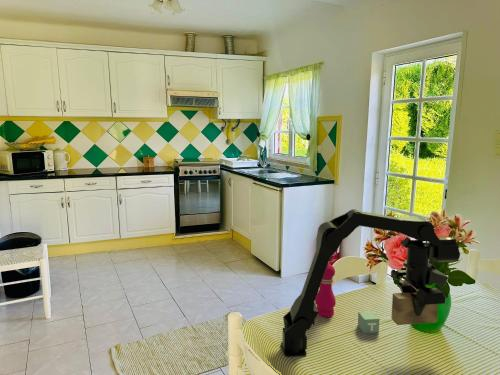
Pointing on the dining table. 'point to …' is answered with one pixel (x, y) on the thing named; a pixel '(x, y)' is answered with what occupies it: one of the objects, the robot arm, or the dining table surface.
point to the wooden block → (411, 310)
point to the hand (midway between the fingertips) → (414, 312)
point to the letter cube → (368, 322)
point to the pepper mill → (326, 294)
